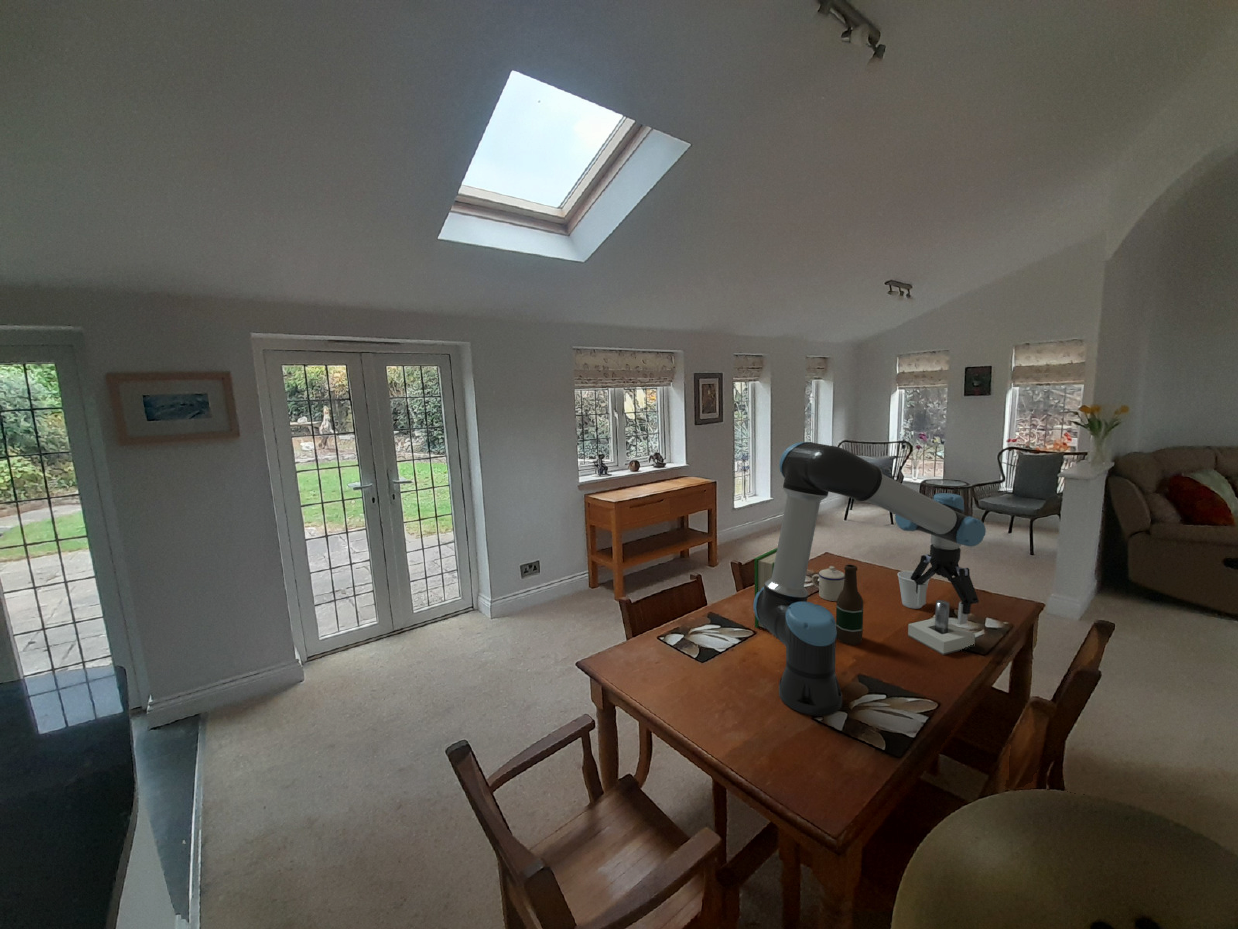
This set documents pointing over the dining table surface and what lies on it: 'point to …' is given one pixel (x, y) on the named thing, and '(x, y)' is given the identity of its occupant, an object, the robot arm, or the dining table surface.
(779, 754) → the dining table surface
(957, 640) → the bore block
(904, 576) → the cup
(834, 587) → the teacup with lid
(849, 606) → the beer bottle
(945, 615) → the pin
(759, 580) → the hardback book
